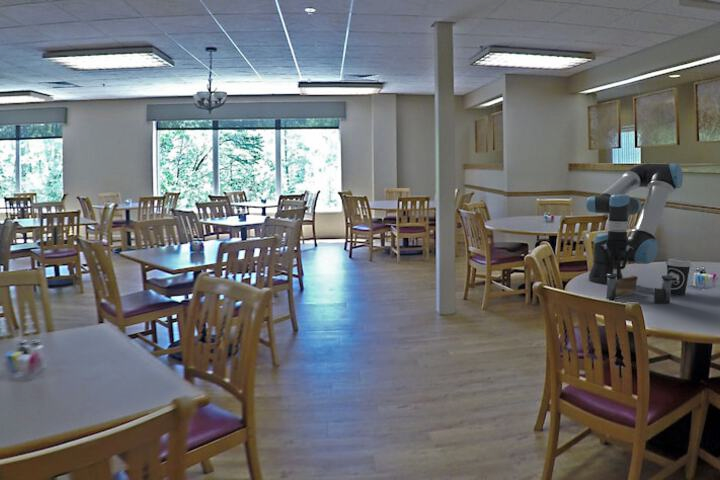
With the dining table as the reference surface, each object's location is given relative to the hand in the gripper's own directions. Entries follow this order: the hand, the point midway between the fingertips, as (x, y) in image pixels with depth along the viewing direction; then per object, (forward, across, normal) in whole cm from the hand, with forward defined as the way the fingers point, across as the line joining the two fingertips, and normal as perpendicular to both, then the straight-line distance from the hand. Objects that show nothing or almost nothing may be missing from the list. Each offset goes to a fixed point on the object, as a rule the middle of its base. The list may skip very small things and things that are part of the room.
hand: (614, 284), depth 242 cm
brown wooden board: (+4, +4, -4) cm, 7 cm away
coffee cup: (+4, +24, +11) cm, 26 cm away
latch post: (+4, +19, -8) cm, 21 cm away
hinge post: (+4, 0, -13) cm, 14 cm away
